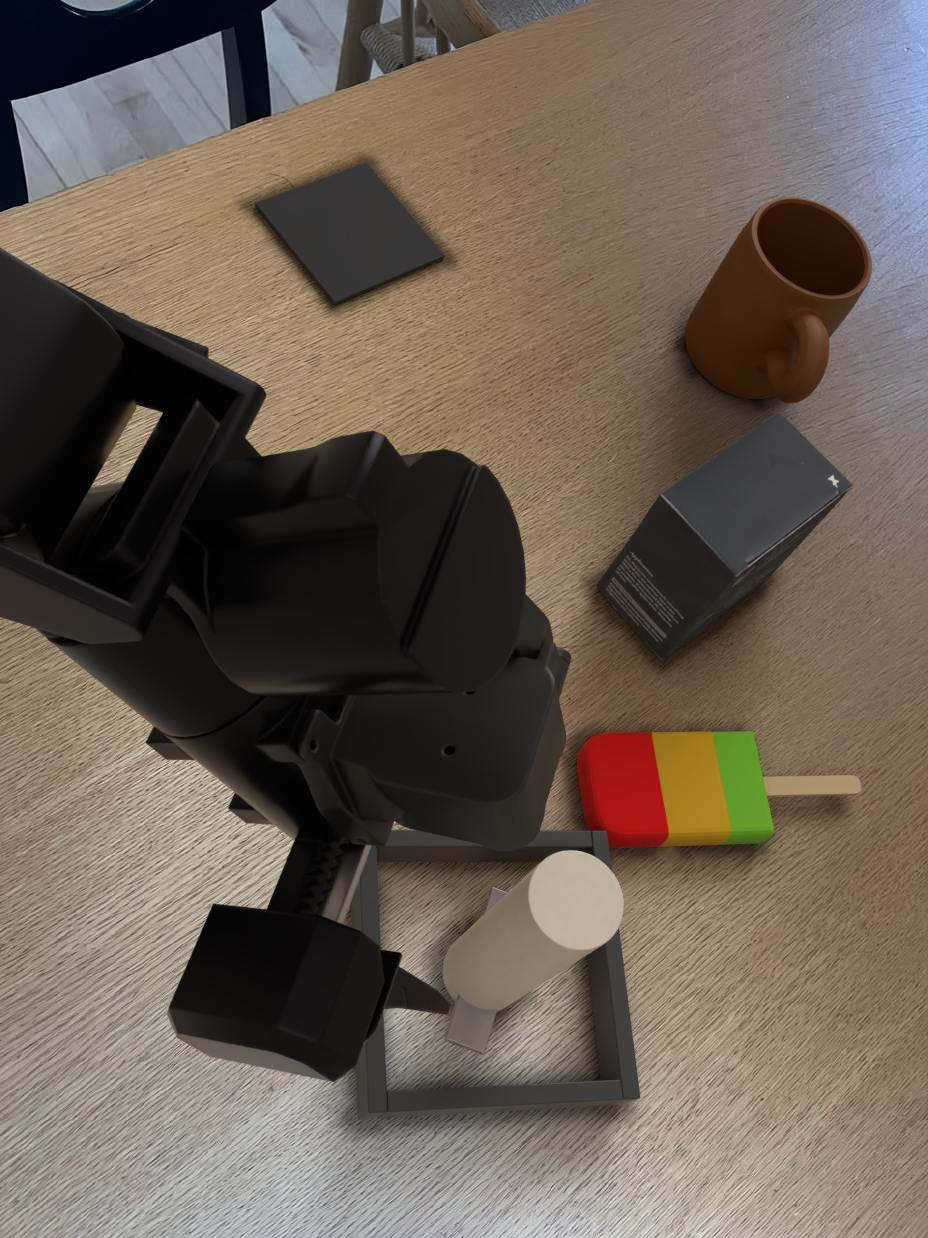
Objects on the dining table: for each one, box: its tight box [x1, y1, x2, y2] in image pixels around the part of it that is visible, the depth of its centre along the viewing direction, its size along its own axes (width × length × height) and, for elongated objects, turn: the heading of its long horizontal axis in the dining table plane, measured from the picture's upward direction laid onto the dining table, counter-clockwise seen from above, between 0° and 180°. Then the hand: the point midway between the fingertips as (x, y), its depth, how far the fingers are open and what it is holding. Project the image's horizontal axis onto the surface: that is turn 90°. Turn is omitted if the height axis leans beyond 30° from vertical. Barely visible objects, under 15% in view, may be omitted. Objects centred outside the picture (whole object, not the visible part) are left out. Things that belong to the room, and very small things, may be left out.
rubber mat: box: [254, 162, 446, 306], centre depth 73 cm, size 8×8×1 cm
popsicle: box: [576, 730, 862, 849], centre depth 62 cm, size 6×15×2 cm, turn 96°
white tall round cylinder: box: [442, 850, 625, 1056], centre depth 50 cm, size 7×4×13 cm, turn 162°
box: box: [596, 412, 853, 660], centre depth 64 cm, size 9×6×10 cm, turn 131°
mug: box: [684, 196, 873, 404], centre depth 72 cm, size 12×8×9 cm, turn 177°
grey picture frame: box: [350, 829, 641, 1120], centre depth 55 cm, size 12×12×2 cm
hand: (477, 890), depth 47 cm, fingers open, 9 cm apart
